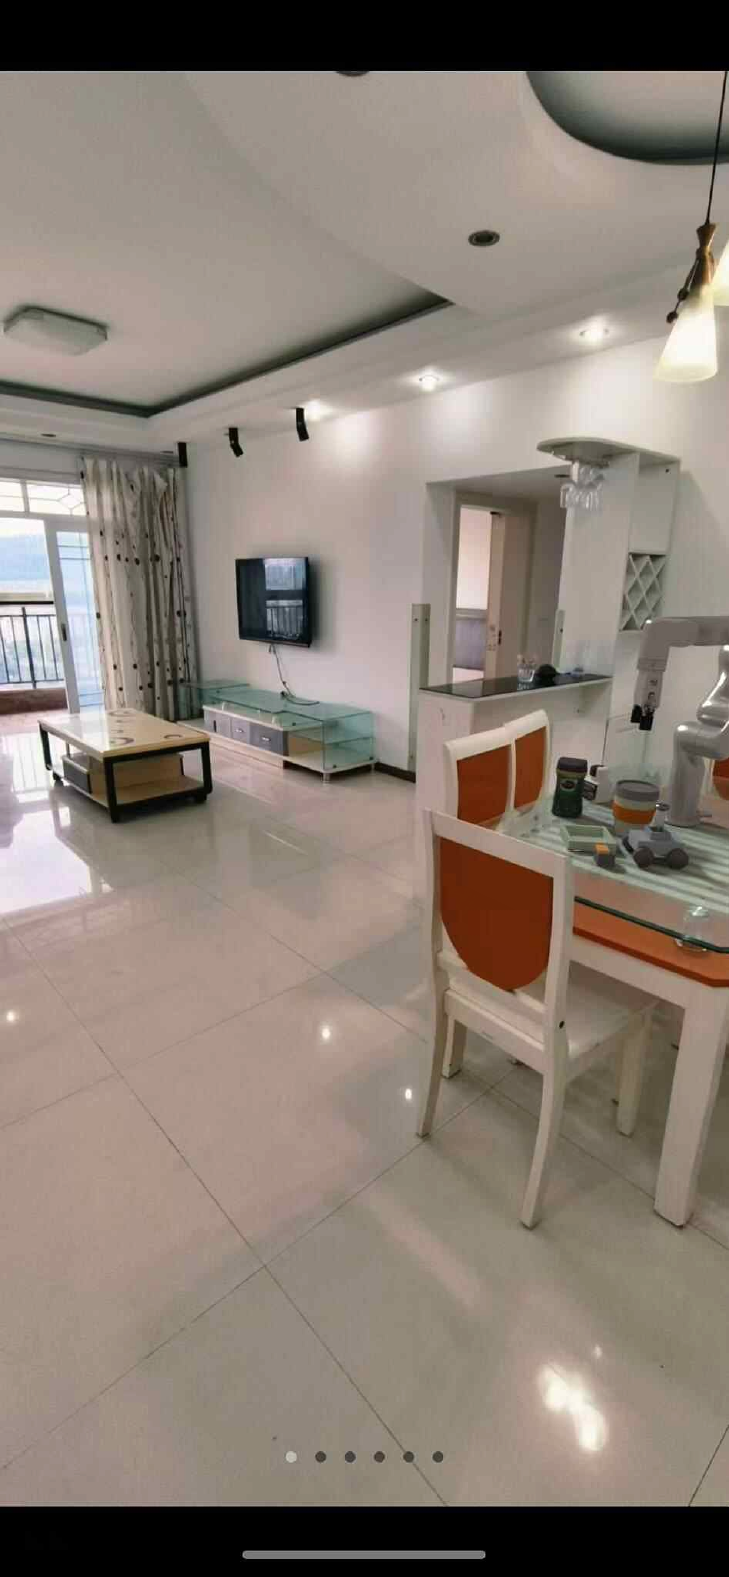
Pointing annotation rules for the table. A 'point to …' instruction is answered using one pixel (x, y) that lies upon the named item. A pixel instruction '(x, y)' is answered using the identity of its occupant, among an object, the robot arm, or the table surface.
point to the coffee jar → (569, 787)
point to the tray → (586, 837)
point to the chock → (604, 855)
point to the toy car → (655, 847)
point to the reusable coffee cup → (634, 805)
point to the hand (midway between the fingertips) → (640, 726)
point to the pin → (660, 816)
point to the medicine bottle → (597, 785)
